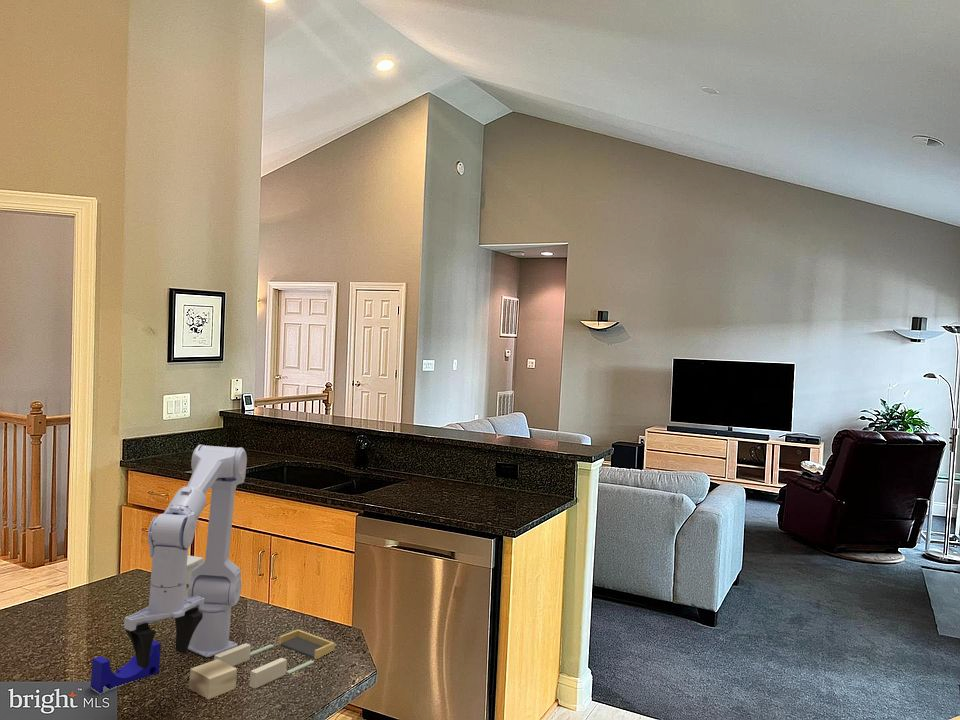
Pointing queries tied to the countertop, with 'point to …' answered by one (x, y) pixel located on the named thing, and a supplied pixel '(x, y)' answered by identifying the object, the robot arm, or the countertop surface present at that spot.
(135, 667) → the blue arch block
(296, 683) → the countertop surface
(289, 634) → the open-sided tray
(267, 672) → the cream parallel guide rails
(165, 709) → the countertop surface
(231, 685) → the beech block
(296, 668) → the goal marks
